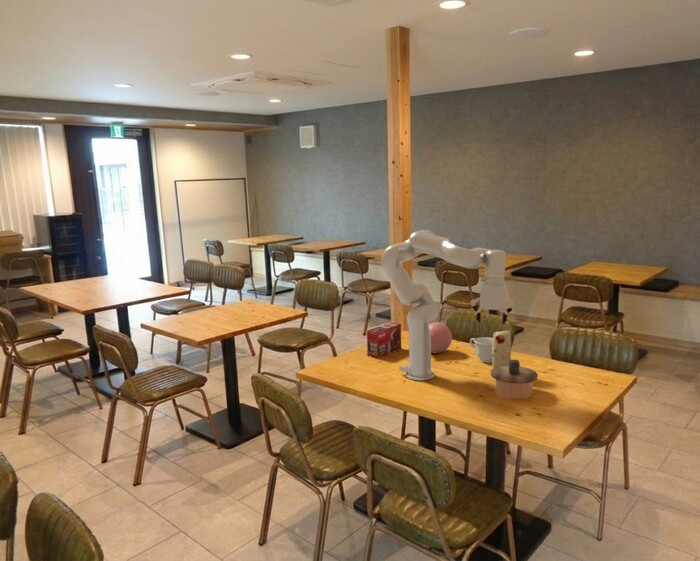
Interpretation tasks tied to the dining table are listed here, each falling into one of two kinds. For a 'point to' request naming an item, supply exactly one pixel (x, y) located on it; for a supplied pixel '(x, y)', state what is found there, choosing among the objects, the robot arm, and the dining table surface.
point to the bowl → (513, 389)
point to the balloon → (439, 337)
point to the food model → (501, 349)
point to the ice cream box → (383, 339)
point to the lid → (514, 373)
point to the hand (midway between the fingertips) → (491, 322)
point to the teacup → (483, 348)
